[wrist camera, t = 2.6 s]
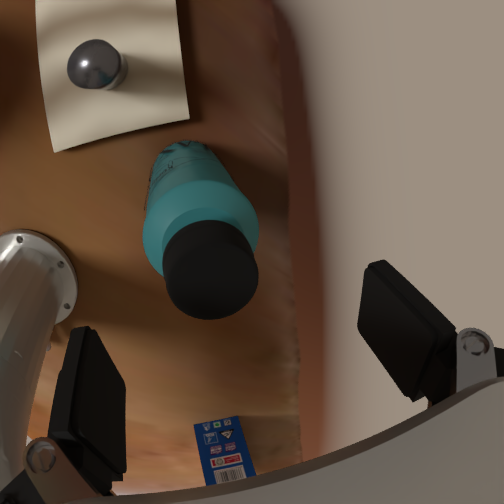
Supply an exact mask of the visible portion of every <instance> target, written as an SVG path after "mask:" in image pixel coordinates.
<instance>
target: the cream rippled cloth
mask: <svg viewBox="0 0 504 504" xmlns="http://www.w3.org/2000/svg"><path fill="white" fill-rule="evenodd" d="M36 30H37V46H38V57H39V67H40V76H41V84H42V91H43V97H44V104H45V110H46V115H47V121H48V126H49V131H50V136H51V141H52V145H53V150H54V153H55V152H58V151H61V150H64V149H67V148H70V147H74V146H77V145H80V144H84V143H87V142H90V141H94V140H97V139H101V138H105V137H109V136H112V135H116V134H120V133H124V132H128V131H132V130H137V129H141V128H145V127H150V126H154V125H159V124H164V123H169V122H174V121H179V120H185V119H190V117H189V110H188V103H187V96H186V88H185V80H184V73H183V64H182V56H181V48H180V39H179V30H178V21H177V11H176V1H175V0H36ZM92 39H101V40H104V41H106V42H108V43H110V44H111V45H112V46H113V47H114V48H115V49H116V50H117V51H118V52H119V53H120V54H122V55H123V56H124V57H125V59H126V60H127V63H128V74H127V76H126V78H125V80H124V81H123V82H122V83H121V84H120V85H119V86H118V87H116V88H114V89H111V90H96V89H84V88H80V87H77V86H76V85H74V84H73V83H72V82H71V80H70V79H69V77H68V74H67V63H68V60H69V57H70V55H71V54H72V52H73V51H74V50H75V48H76V47H78V46H79V45H80V44H82V43H83V42H85V41H88V40H92Z"/></svg>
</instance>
